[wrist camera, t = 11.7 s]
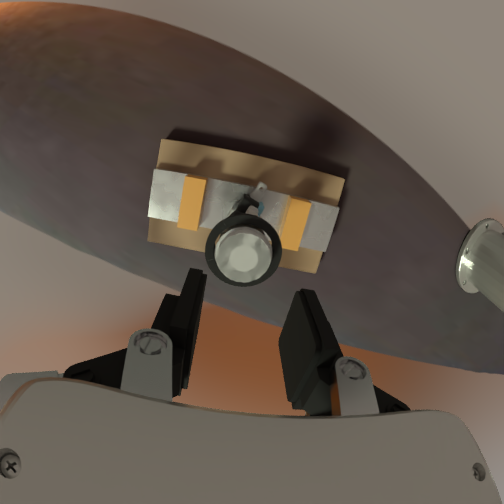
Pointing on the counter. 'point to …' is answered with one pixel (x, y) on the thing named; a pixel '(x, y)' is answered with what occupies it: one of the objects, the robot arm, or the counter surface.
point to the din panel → (245, 172)
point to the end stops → (193, 206)
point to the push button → (244, 244)
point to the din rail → (229, 194)
